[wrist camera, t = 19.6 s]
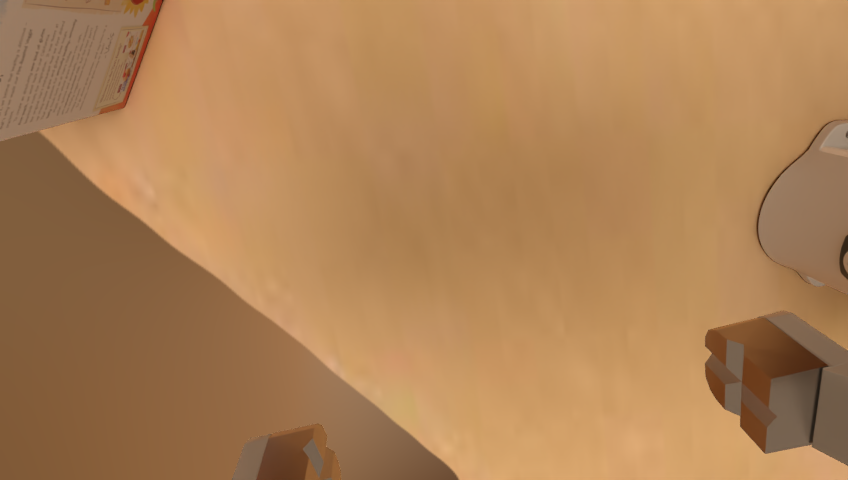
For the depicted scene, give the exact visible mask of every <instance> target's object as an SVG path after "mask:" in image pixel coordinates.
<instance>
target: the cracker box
mask: <svg viewBox="0 0 848 480" xmlns="http://www.w3.org/2000/svg"><path fill="white" fill-rule="evenodd" d="M162 1H163V0H0V141H2V140H6V139H10V138H14V137H17V136H21V135H25V134H29V133H32V132H36V131H39V130H43V129H47V128H50V127H54V126H58V125H62V124H65V123H69V122H73V121H76V120H80V119H84V118H87V117H91V116H95V115H98V114H103V113H106V112H110V111H114V110H117V109H121V108H124V106H125V104H126V101H127V98H128V95H129V93H130V90H131V87H132V84H133V82H134V79H135V76H136V74H137V71H138V68H139V65H140V62H141V59H142V57H143V54H144V51H145V48H146V45H147V43H148V40H149V37H150V34H151V31H152V28H153V26H154V23H155V21H156V18H157V15H158V12H159V9H160V7H161V4H162Z"/></svg>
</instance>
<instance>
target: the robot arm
mask: <svg viewBox="0 0 848 480" xmlns="http://www.w3.org/2000/svg"><path fill="white" fill-rule="evenodd" d="M847 132H848V120H838V121H833V122H830V123H829V124H827V125H826V126H825V127H824V128H823V129H822V130H821V132H820V133H819V134H818V136H817V137H816V139H815V140H814V142H813V143H812V145H811V147H810V148H809V150H808V151H807V152H806V153H805V154H804V155H803V156H801V157H800V158H799V159H798V160H797V161H796V162H794V163H793V164H792V165H791V166H790V167H789V168H788V169H787V170H786V171H785V172H784V173H783V174H782V175H781V176H780V177H779V178H778V180H777V181H776V182H775V184H774V185H773V187H772V188H771V190H770V191H769V193H768V195H767V197H766V199H765V201H764V203H763V206H762V209H761V212H760V217H759V224H758V232H759V239H760V242H761V245H762V247H763V249H764V251H765V252H766V254H767V255H768V256H769V257H770V258H771V259H772V260H773V261H775V262H776V263H778V264H780V265H783V266H785V267H788V268H791V269H794V270H796V271H797V272H798V273H799V275H800V276H801V277H802V278H803V279H804V280H805V281H806V282H807V283H809V284H812V285H814V286H817V287H821V286H824V285H827V286H830V287H832V288H834V289H836V290H838V291H841V292H843V293H845V294H847V295H848V133H847ZM846 133H847V134H846ZM705 346H706V347H707V348H708V349H709V350H710V351H711V352H712V354H711V356H710V357H709V359H708V360H707V361H706V363H705V373H706V379H707V382H708V385H709V387H710V390H711V392H712V393H713V395H714V397H715V398H716V400H717V401H718V402H719V403H720V404H721V405H722V407H723V408H724V409H725V410H728V411H730V412H732V413H735V414H737V415H739V416H740V427H741V428H742V429H743V430H744V431H745V432H746V433H747V434H748V436H749V437H750V438H751V439H752V440H753V441H754V442H755V443H756V444H757V445H758V446H759V448H760V449H761V450H762V451H763V452H764V453H765V454H767V453H772V452H777V451H782V450H787V449H792V448H797V447H802V446H807V445H812V447H813V448H815V449H817V450H819V451H821V452H823V453H825V454H827V455H828V456H830V457H832V458H834V459H836V460H838V461H840V462H842V463H844V464H846V465H848V351H847V350H846V349H844V348H843V347H841V346H840V345H838V344H837V343H835V342H834V341H832V340H831V339H829V338H828V337H826V336H825V335H824V334H822V333H821V332H819V331H818V330H816V329H815V328H813V327H812V326H810V325H809V324H807V323H806V322H805V321H803V320H802V319H800V318H799V317H797V316H796V315H794V314H793V313H791V312H787V311H780V312H776V313H772V314H768V315H764V316H761V317H758V318H754V319H750V320H746V321H742V322H738V323H734V324H730V325H726V326H722V327H718V328H714V329H710V330H708V332H707V334H706V336H705ZM326 443H327V434H326V432H325V430H324V428H323V426H322V425H321V424H312V425H308V426H303V427H298V428H294V429H289V430H284V431H280V432H275V433H273V434H268V435H264V436H259V437H254V438H250V439H249V440H248V441H247V442H246V443H245V445H244V447H243V450H242V453H241V456H240V458H239V462H238V464H237V467H236V470H235V473H234V476H233V478H232V480H341V470H340V467H339V463H338V460H337V457H336V455H335V452H334V451H333V450H331V449H329V448H327V447H326Z"/></svg>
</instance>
